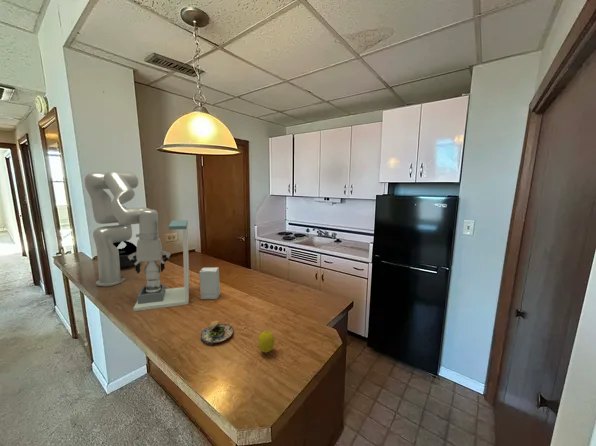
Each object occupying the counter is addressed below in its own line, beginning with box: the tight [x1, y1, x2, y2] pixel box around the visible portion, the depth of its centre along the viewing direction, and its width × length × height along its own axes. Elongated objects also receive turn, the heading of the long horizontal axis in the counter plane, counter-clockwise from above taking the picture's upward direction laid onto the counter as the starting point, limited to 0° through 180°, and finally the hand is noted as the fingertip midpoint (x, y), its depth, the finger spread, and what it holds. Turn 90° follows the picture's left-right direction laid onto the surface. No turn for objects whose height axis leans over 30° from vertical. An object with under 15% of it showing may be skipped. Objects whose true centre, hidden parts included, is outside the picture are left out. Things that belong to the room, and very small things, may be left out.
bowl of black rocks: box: [113, 240, 137, 268], centre depth 163 cm, size 20×20×19 cm
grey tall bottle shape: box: [143, 261, 161, 294], centre depth 118 cm, size 6×7×20 cm
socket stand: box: [132, 219, 190, 312], centre depth 119 cm, size 18×22×38 cm
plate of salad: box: [200, 319, 234, 347], centre depth 94 cm, size 12×12×8 cm
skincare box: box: [198, 267, 221, 300], centre depth 125 cm, size 8×6×15 cm
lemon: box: [257, 330, 275, 354], centre depth 85 cm, size 6×6×8 cm
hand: (150, 271), depth 118 cm, fingers open, 9 cm apart
